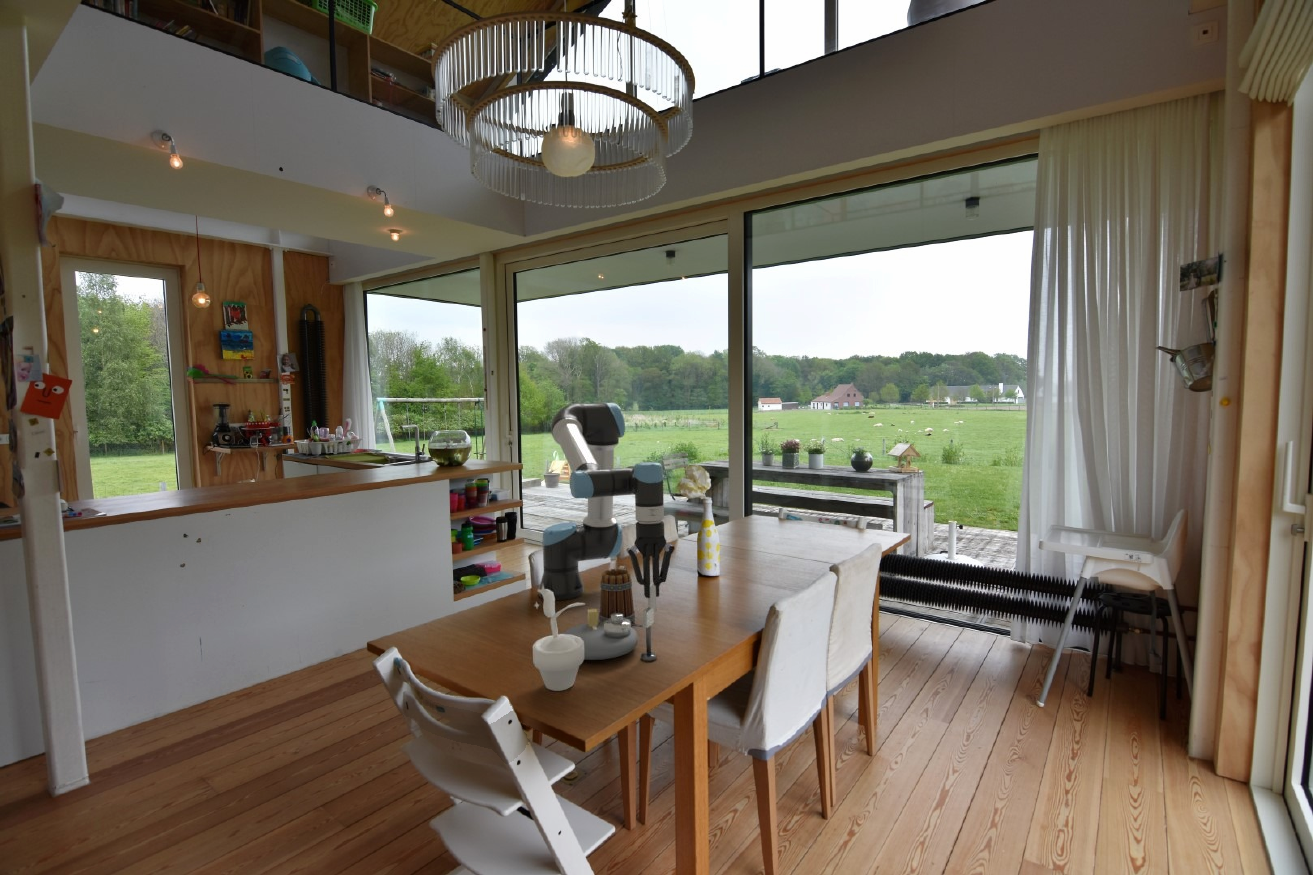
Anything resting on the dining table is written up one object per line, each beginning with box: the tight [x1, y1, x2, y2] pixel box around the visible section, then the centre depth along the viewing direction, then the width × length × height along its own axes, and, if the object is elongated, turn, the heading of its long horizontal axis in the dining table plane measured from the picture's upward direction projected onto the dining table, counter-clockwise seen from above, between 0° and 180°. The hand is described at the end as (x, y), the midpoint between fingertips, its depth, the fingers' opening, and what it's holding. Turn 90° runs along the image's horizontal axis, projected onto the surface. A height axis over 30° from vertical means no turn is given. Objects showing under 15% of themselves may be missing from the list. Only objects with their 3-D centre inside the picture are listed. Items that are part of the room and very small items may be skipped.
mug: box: [598, 565, 636, 624], centre depth 181 cm, size 16×11×15 cm
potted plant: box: [532, 586, 586, 692], centre depth 139 cm, size 13×12×25 cm
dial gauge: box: [631, 606, 658, 662], centre depth 154 cm, size 7×4×12 cm, turn 66°
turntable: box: [562, 608, 638, 661], centre depth 159 cm, size 20×20×6 cm
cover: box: [604, 613, 631, 639], centre depth 160 cm, size 7×7×5 cm
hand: (652, 608), depth 162 cm, fingers closed
